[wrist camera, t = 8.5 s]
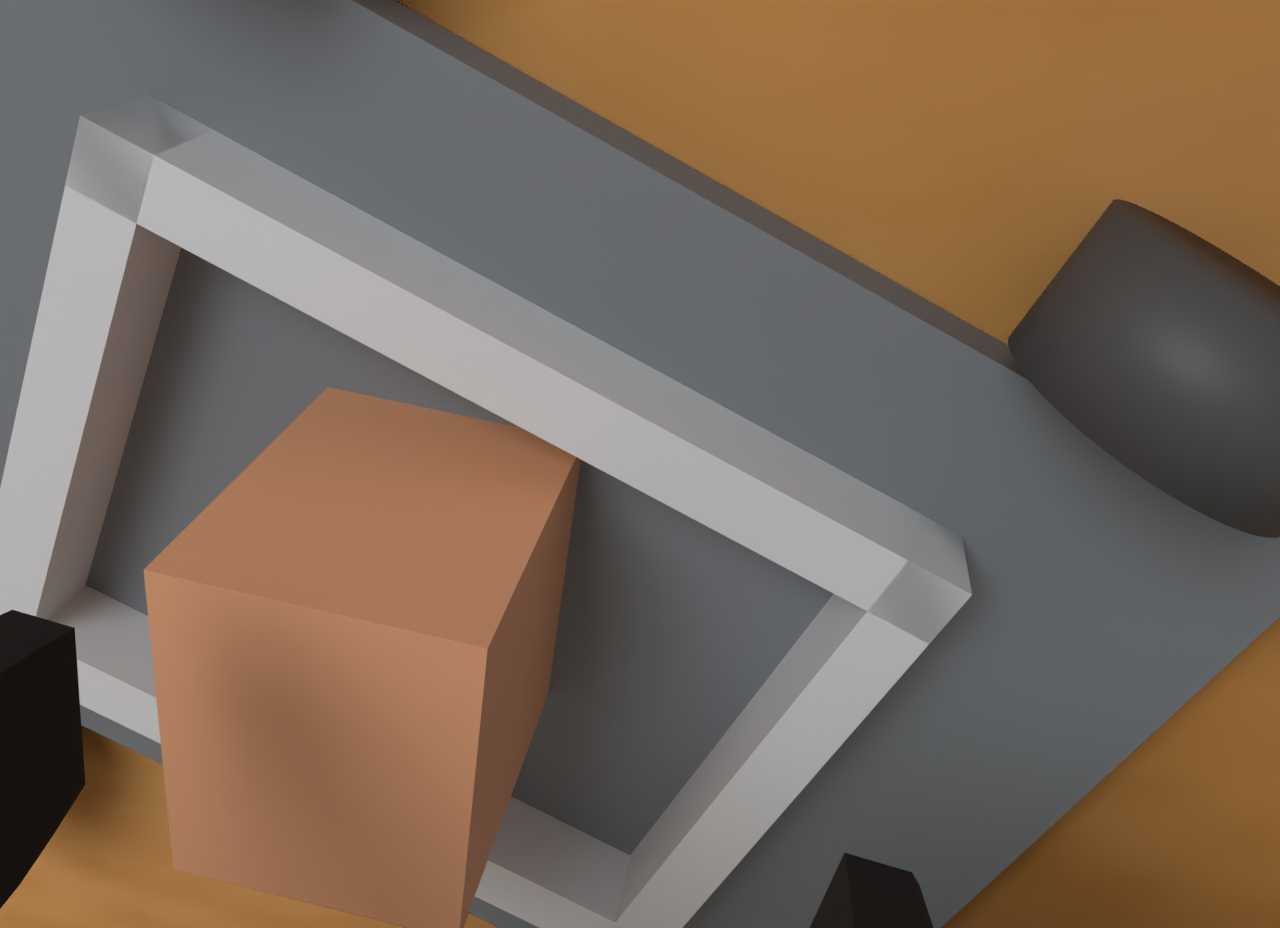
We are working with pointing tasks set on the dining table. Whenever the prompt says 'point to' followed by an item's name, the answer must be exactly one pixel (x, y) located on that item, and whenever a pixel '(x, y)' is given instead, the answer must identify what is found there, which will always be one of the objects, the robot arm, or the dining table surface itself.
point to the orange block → (360, 656)
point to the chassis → (632, 446)
